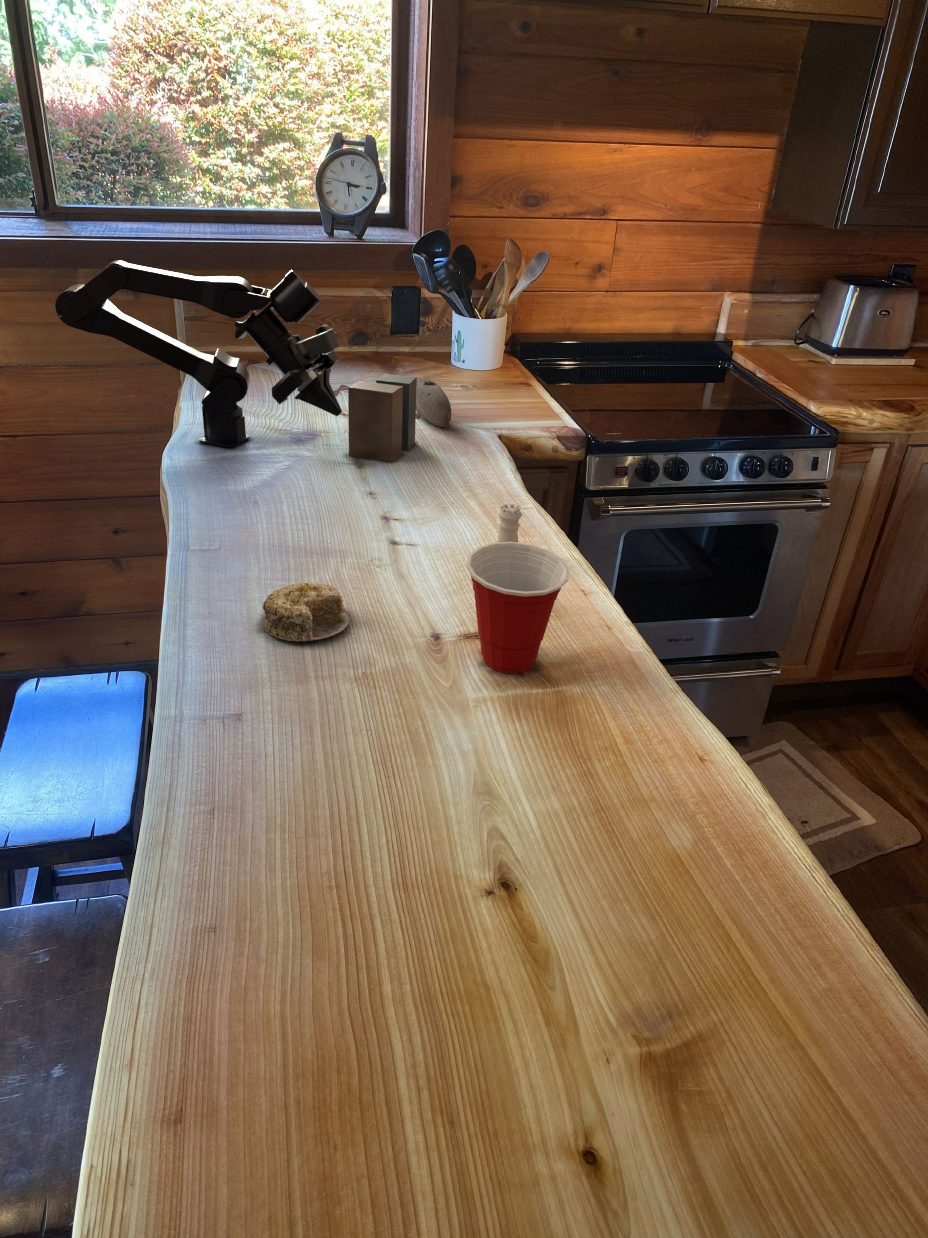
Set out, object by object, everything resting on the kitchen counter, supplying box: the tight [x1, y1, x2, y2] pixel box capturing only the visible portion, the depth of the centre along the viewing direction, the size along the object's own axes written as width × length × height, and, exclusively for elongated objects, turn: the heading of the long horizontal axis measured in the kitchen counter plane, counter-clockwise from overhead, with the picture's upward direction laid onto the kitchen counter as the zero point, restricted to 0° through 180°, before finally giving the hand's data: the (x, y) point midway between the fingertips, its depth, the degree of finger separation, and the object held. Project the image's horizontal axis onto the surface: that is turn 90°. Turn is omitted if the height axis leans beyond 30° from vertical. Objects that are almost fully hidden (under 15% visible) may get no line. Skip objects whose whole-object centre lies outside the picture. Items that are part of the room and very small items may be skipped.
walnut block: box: [347, 380, 403, 463], centre depth 155 cm, size 8×5×12 cm, turn 72°
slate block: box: [375, 373, 418, 452], centre depth 161 cm, size 6×5×12 cm
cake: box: [261, 582, 350, 642], centre depth 103 cm, size 10×10×5 cm
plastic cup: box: [466, 541, 570, 674], centre depth 96 cm, size 11×11×12 cm
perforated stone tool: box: [416, 378, 452, 428], centre depth 176 cm, size 15×5×7 cm, turn 20°
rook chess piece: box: [496, 503, 523, 543], centre depth 120 cm, size 4×4×8 cm
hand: (339, 414), depth 156 cm, fingers closed
